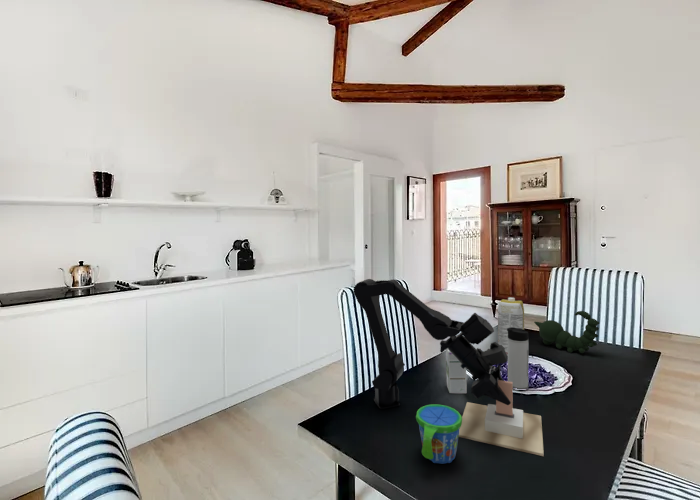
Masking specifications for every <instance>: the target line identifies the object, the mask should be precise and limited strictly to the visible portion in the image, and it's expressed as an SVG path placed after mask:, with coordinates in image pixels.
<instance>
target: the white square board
mask: <svg viewBox="0 0 700 500" xmlns="http://www.w3.org/2000/svg"><path fill="white" fill-rule="evenodd" d="M487 406H488V407H487V412H486V417H485V431H489V432H494V433H498V434H503V435H508V436H512V437H517V438H522V439H523V413H524V410H523V409H518V408H514V407H513V416H508V415H503V414H497V413H496V404H492V403H487Z"/></svg>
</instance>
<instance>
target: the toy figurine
mask: <svg viewBox="0 0 700 500" xmlns="http://www.w3.org/2000/svg"><path fill="white" fill-rule="evenodd" d="M574 316H581V317H582V318H584V320H587V322H586V323H587V324H586V325H585V328H584V329H585V330H584V331H583V332H582V335H581V336H580V337H579V336H575V335H572V334H571V333H570V332H569V331H567V330H565V329H564V328H563V325H561V323H559V322H558V321H555V320H552V319H551V320H550V319H549V320H548V319H547V320H545V321H542V322H541V321H534V322H533V323H534V324H535V325H536V326H537V327H538V328H539V329H538V331H539V337H540V338H542V339H543V340H542V342H543V343H544V345H546V346H550V345H552V343H555V347H556V348H557V349H559V350H560V349H563V348H567V349H566V350H567V352H568V353H570V354H571V353H573V352H575V351H578V352H579V353H580V354H584V353H585V352H588V351H589V350H590V348H593V347H596V346H598V345H597V344H598V342H596V341H595V338H596V339H598V337H599V335H598V334H597V333H596V332H598V331H599V329H600V328H599V327H597V326H598V325H599V324H600V322H599V321H598V320H597V319H595V318H592V317H591V314H590V313H588V311H584V310H579V311H576V312H575V313H574Z"/></svg>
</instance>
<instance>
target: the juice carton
mask: <svg viewBox="0 0 700 500" xmlns="http://www.w3.org/2000/svg"><path fill="white" fill-rule="evenodd" d="M507 328H519V329H523V330H524V331H525V308H524V303H523V300H516V298H515V297H507V299H501V300H500V301H499V303H498V307H497V343H498V344H499V345H502V346H503V347H504V348H505V352H506V354H507V356H508V331H507Z"/></svg>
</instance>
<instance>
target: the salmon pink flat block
mask: <svg viewBox="0 0 700 500" xmlns="http://www.w3.org/2000/svg"><path fill="white" fill-rule="evenodd" d="M498 385H499V387H500V388H501V389H502V391H503V392H504V393H505V395H506V396H507V397H508V399H509V400H510V402H511V404H509V405H506V404H504V403H502V402H499V401H497V400H495V405H496V413H497V414H503V415H508V416H513V408H514V407H513V404H514V403H513V402H514V401H513V393H514V392H513V391H514V390H513V382H509V381H508V380H504V381H502V380H498Z"/></svg>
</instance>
